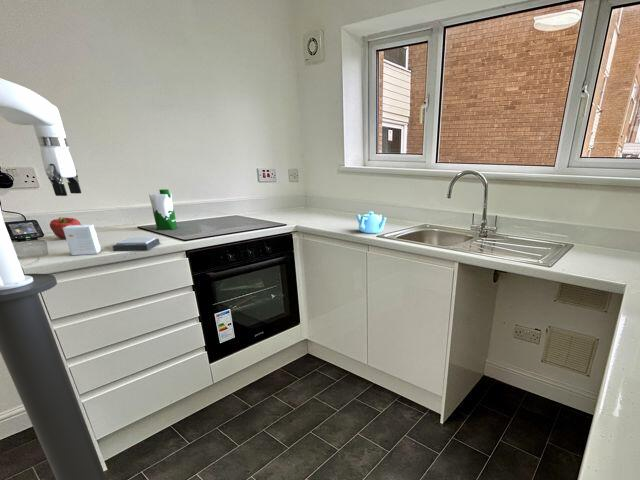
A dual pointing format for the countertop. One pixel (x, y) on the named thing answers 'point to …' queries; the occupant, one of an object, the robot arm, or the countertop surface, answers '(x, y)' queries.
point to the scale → (136, 244)
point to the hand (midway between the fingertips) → (69, 194)
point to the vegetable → (62, 225)
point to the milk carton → (163, 210)
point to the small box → (82, 239)
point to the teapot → (371, 223)
